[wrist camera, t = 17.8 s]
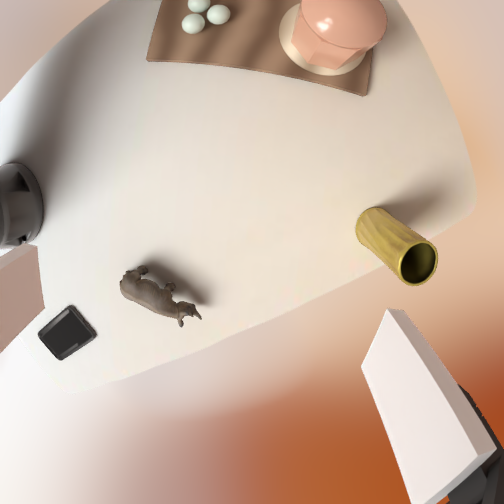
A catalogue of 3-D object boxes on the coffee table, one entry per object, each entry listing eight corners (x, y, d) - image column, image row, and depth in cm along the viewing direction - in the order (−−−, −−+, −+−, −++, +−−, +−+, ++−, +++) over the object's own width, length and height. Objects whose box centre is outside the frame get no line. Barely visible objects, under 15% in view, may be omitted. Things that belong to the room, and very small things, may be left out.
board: (148, 61, 34) (145, 59, 33) (171, -17, 30) (169, -21, 28) (363, 96, 36) (365, 95, 34) (374, 15, 31) (376, 13, 30)
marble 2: (182, 36, 32) (177, 28, 29) (187, 18, 31) (182, 10, 28) (204, 37, 32) (200, 29, 29) (208, 19, 31) (205, 10, 28)
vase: (387, 201, 41) (438, 228, 27) (396, 239, 43) (443, 278, 29) (350, 214, 41) (390, 247, 28) (360, 252, 43) (398, 298, 30)
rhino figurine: (198, 319, 48) (191, 341, 42) (123, 278, 46) (108, 295, 40) (209, 300, 47) (203, 321, 41) (132, 257, 44) (116, 273, 39)
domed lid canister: (319, 80, 34) (338, 60, 24) (277, 27, 31) (283, -6, 22) (372, 52, 32) (402, 30, 22) (332, 2, 29) (351, -31, 20)
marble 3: (206, 26, 32) (202, 18, 29) (211, 9, 31) (208, 0, 28) (228, 28, 32) (226, 20, 29) (233, 11, 31) (231, 2, 28)
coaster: (271, 64, 34) (271, 63, 33) (286, -7, 30) (286, -8, 29) (360, 86, 34) (361, 85, 34) (369, 15, 30) (370, 14, 30)
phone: (36, 334, 50) (69, 305, 47) (38, 331, 51) (72, 302, 48) (60, 362, 52) (96, 338, 49) (62, 359, 53) (99, 335, 50)
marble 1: (188, 15, 31) (183, 7, 28) (192, -2, 30) (188, -11, 27) (209, 16, 31) (205, 7, 28) (214, -1, 30) (210, -10, 27)
